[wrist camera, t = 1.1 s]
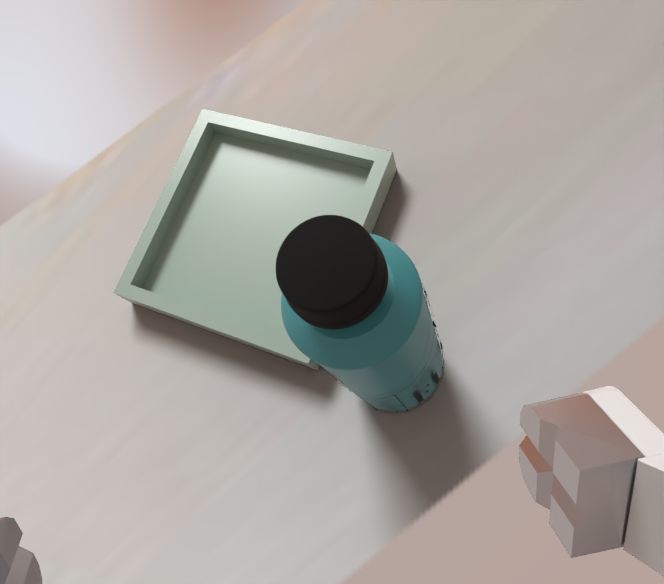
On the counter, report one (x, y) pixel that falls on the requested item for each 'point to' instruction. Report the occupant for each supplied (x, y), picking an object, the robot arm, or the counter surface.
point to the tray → (246, 223)
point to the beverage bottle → (359, 311)
